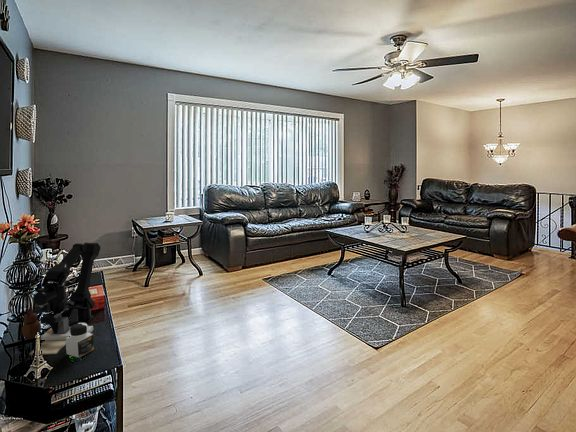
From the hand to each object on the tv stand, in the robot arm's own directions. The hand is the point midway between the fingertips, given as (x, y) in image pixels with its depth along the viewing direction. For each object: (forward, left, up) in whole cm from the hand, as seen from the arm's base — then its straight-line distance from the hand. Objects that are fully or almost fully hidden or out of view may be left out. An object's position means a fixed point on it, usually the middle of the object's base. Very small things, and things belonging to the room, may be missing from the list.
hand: (60, 329), depth 154 cm
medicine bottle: (+15, +15, -3) cm, 22 cm away
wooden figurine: (+1, -12, -3) cm, 12 cm away
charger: (0, 0, -3) cm, 3 cm away
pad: (+11, +1, -3) cm, 11 cm away
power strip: (0, +3, -3) cm, 4 cm away
